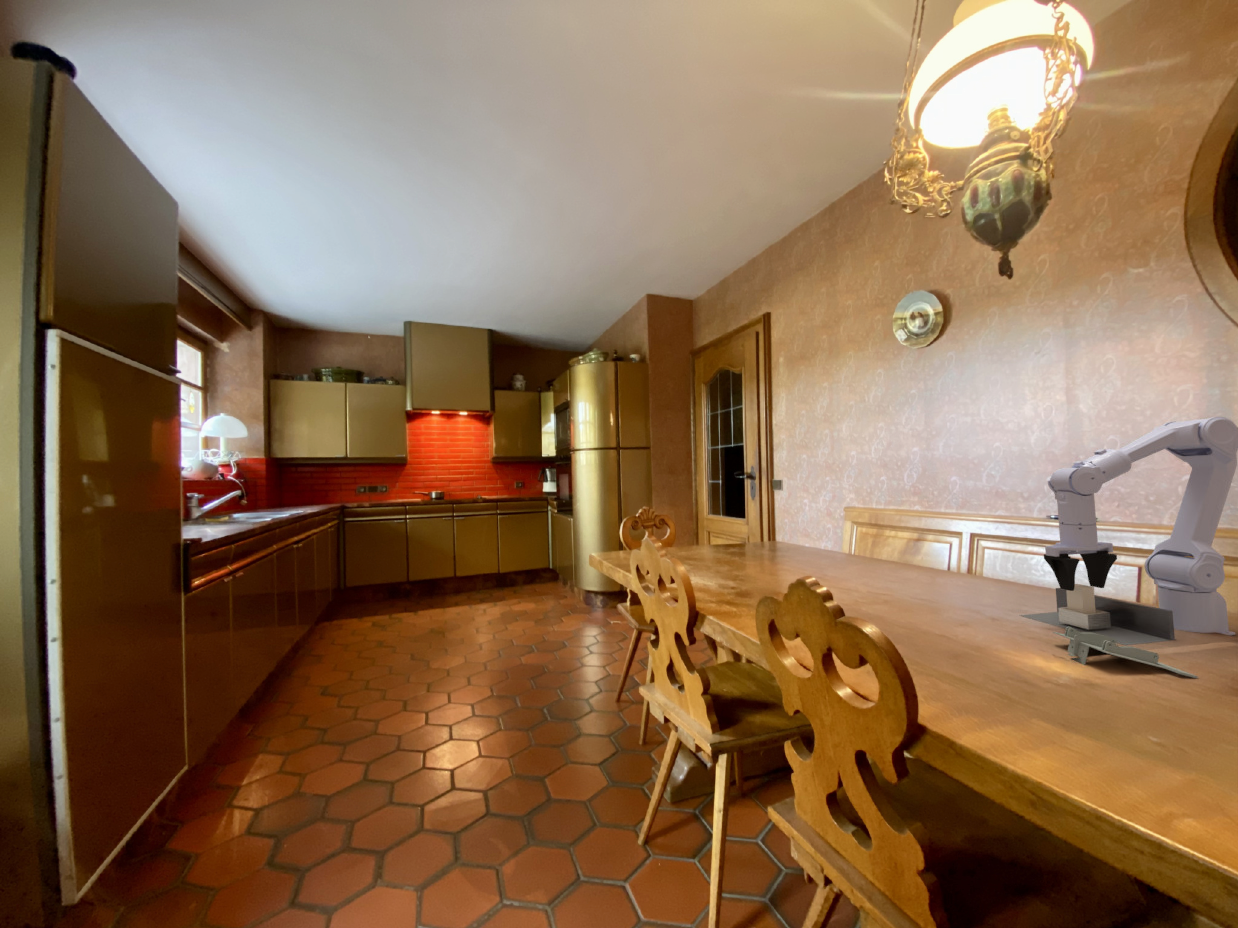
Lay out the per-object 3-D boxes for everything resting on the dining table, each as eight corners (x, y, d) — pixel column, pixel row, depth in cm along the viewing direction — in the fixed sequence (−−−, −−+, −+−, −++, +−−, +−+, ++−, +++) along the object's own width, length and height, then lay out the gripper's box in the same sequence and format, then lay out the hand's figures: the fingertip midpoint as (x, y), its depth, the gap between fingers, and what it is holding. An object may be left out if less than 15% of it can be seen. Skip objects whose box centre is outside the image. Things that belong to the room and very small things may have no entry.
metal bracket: (1116, 645, 76) (1040, 617, 91) (1108, 679, 76) (1033, 646, 91) (1210, 669, 75) (1117, 637, 90) (1201, 704, 75) (1110, 666, 90)
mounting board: (1063, 615, 109) (1062, 611, 109) (1177, 644, 89) (1176, 639, 89) (1019, 619, 107) (1018, 615, 107) (1125, 650, 87) (1125, 645, 87)
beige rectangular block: (1080, 618, 100) (1077, 583, 100) (1096, 622, 97) (1093, 586, 97) (1068, 619, 99) (1065, 584, 100) (1084, 624, 97) (1081, 587, 97)
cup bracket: (1060, 611, 109) (1059, 587, 109) (1174, 639, 89) (1172, 610, 89) (1025, 614, 107) (1023, 590, 107) (1133, 644, 87) (1130, 614, 88)
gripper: (1084, 520, 104) (1088, 581, 103) (1028, 524, 101) (1033, 586, 101) (1122, 523, 97) (1128, 588, 96) (1064, 527, 94) (1069, 594, 94)
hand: (1082, 588), depth 98 cm, fingers open, 7 cm apart
